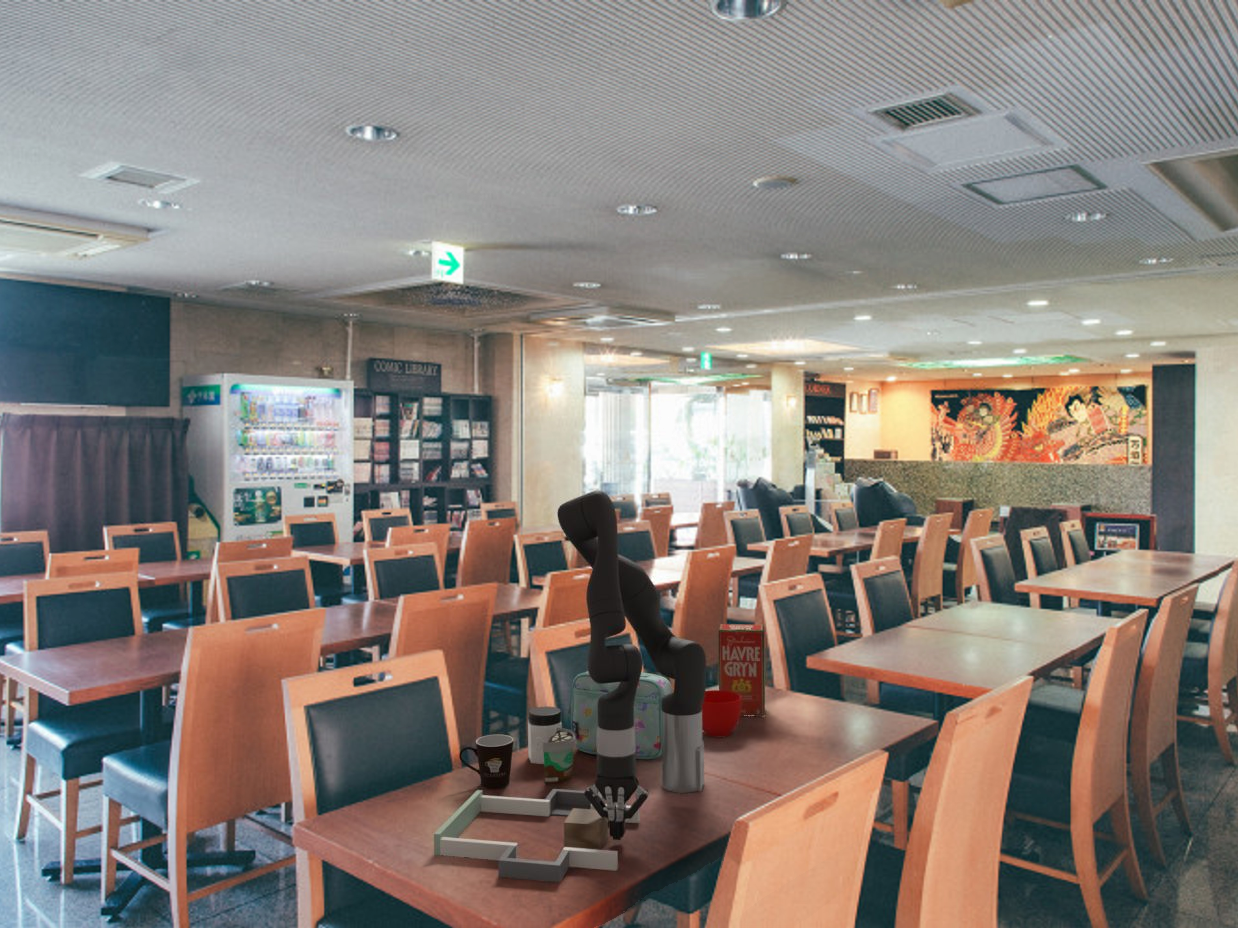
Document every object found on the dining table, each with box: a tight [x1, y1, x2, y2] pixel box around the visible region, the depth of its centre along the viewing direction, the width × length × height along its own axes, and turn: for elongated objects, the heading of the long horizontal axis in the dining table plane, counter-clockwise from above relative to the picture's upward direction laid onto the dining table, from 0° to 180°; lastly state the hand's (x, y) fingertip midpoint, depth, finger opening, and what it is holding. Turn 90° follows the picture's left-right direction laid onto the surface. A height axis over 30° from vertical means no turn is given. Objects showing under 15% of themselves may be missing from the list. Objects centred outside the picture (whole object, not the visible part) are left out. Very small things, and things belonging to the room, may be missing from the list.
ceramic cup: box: [702, 689, 741, 738], centre depth 241 cm, size 13×17×10 cm
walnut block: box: [563, 808, 609, 850], centre depth 173 cm, size 7×7×5 cm
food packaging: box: [717, 623, 766, 717], centre depth 260 cm, size 13×9×25 cm
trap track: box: [433, 788, 640, 883], centre depth 175 cm, size 35×35×4 cm
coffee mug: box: [458, 734, 514, 790], centre depth 205 cm, size 12×9×10 cm
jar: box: [527, 706, 563, 765], centre depth 221 cm, size 9×8×12 cm
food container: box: [543, 727, 577, 786], centre depth 208 cm, size 12×6×10 cm, turn 168°
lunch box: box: [567, 670, 673, 760], centre depth 225 cm, size 27×10×21 cm, turn 68°
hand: (617, 838), depth 172 cm, fingers closed
